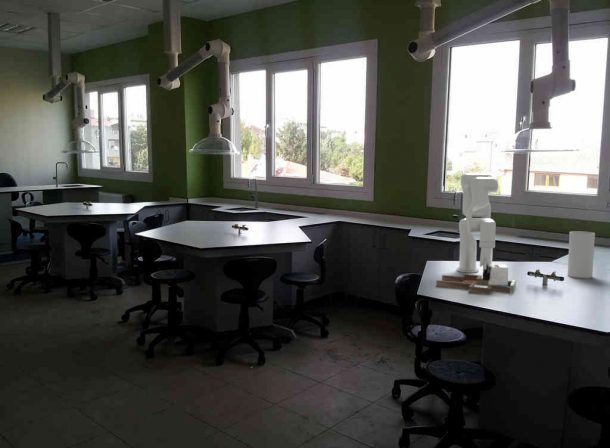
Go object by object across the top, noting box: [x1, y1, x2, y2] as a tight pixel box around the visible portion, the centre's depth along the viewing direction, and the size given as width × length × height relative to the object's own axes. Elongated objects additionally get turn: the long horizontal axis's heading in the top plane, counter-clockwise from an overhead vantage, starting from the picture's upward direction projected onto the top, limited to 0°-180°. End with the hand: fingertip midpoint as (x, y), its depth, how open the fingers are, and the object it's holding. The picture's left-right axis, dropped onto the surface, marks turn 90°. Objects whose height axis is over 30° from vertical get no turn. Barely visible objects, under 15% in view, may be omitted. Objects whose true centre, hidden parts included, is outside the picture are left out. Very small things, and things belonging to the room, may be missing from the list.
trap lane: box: [435, 273, 517, 296], centre depth 273 cm, size 31×38×4 cm
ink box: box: [488, 261, 509, 287], centre depth 269 cm, size 9×8×13 cm
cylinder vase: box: [567, 230, 596, 280], centre depth 296 cm, size 12×12×25 cm
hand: (486, 279), depth 271 cm, fingers closed
